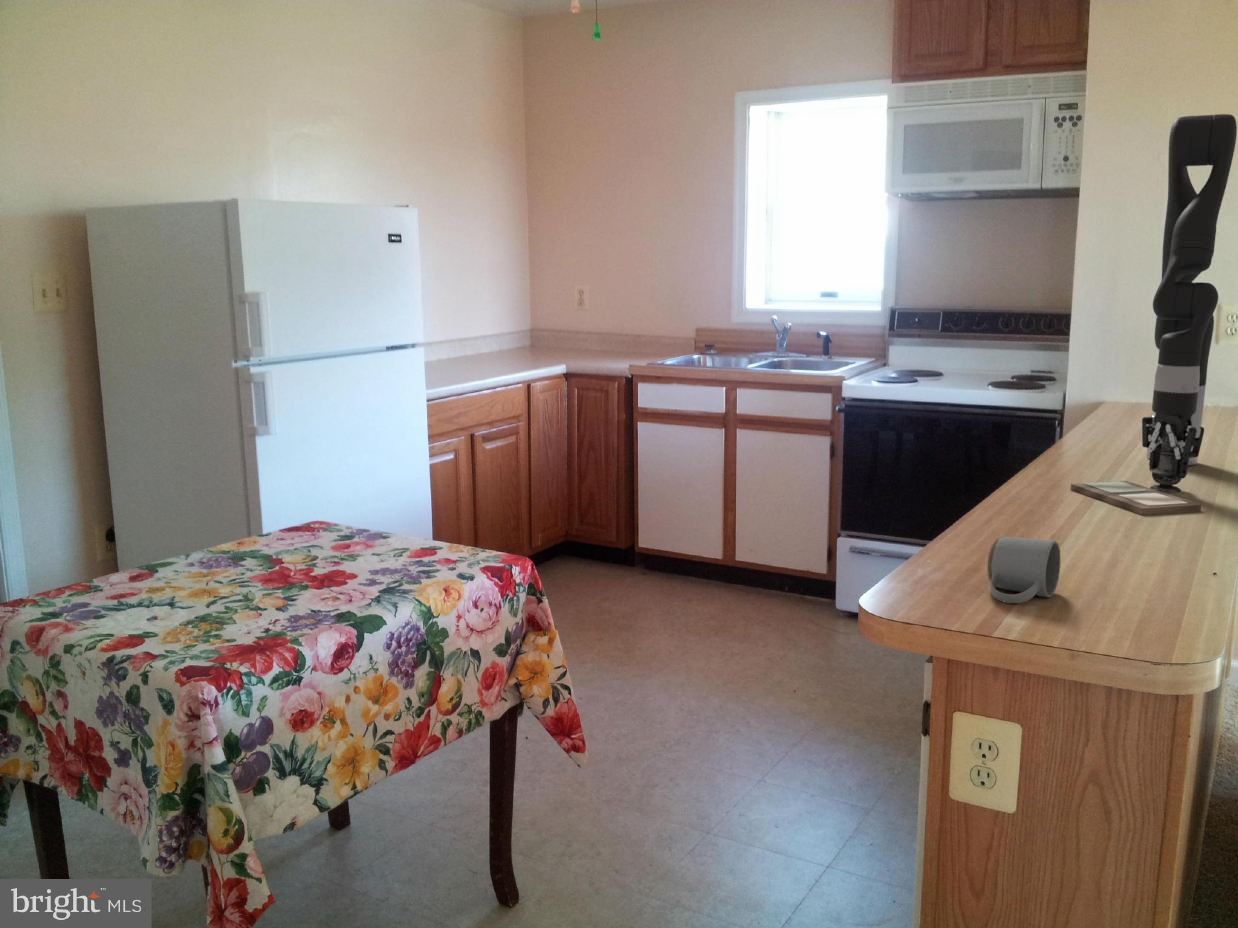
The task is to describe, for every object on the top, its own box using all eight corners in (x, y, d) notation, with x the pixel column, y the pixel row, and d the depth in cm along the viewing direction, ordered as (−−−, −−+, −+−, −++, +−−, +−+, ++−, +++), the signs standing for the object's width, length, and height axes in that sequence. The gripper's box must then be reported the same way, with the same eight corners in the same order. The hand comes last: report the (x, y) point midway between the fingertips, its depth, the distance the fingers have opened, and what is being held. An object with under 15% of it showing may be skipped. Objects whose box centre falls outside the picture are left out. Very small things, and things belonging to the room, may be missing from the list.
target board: (1070, 489, 200) (1071, 482, 199) (1124, 486, 202) (1125, 479, 202) (1141, 515, 181) (1142, 507, 180) (1200, 511, 183) (1201, 503, 183)
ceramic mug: (999, 578, 147) (1002, 526, 145) (1059, 588, 142) (1063, 535, 140) (975, 599, 139) (979, 545, 137) (1038, 611, 134) (1043, 555, 132)
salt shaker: (1187, 493, 196) (1193, 431, 194) (1153, 492, 197) (1160, 430, 195) (1177, 486, 202) (1183, 426, 199) (1144, 485, 203) (1150, 425, 200)
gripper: (1222, 392, 189) (1211, 481, 193) (1166, 383, 203) (1157, 466, 207) (1186, 394, 188) (1177, 483, 191) (1132, 384, 202) (1124, 468, 205)
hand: (1167, 474), depth 199 cm, fingers closed on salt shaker, 6 cm apart
